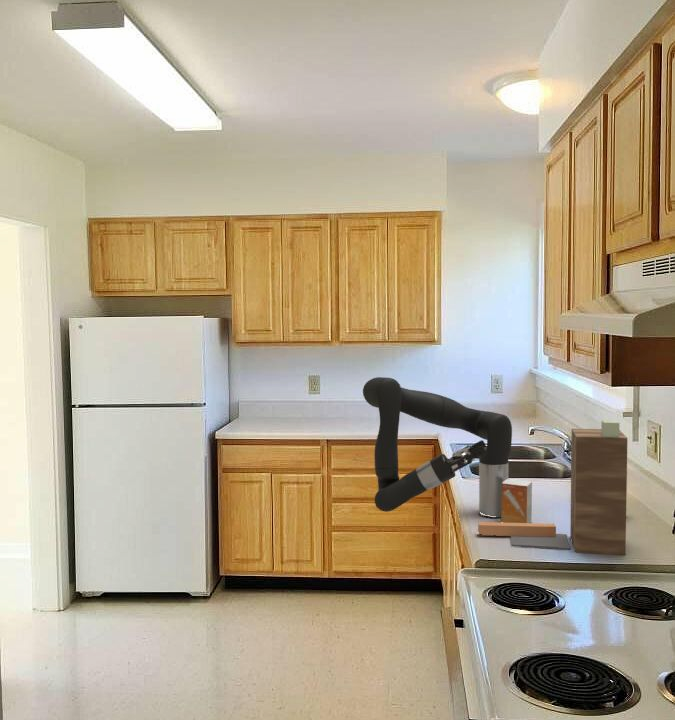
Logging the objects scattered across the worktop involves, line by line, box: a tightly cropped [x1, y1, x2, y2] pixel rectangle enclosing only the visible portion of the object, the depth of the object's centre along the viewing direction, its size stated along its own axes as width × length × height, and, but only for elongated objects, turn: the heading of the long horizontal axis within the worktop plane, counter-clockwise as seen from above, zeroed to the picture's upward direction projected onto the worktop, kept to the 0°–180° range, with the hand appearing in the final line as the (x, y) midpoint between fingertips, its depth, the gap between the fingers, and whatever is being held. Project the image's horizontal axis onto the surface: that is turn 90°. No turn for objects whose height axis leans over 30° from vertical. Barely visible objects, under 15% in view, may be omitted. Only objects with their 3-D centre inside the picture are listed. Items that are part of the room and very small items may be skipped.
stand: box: [569, 428, 628, 556], centre depth 200 cm, size 13×13×32 cm
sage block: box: [601, 419, 620, 438], centre depth 194 cm, size 4×4×4 cm
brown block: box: [477, 521, 557, 537], centre depth 210 cm, size 3×22×3 cm
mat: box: [510, 533, 572, 551], centre depth 205 cm, size 12×16×1 cm
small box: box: [500, 478, 533, 523], centre depth 222 cm, size 8×6×13 cm
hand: (484, 446), depth 206 cm, fingers open, 8 cm apart
